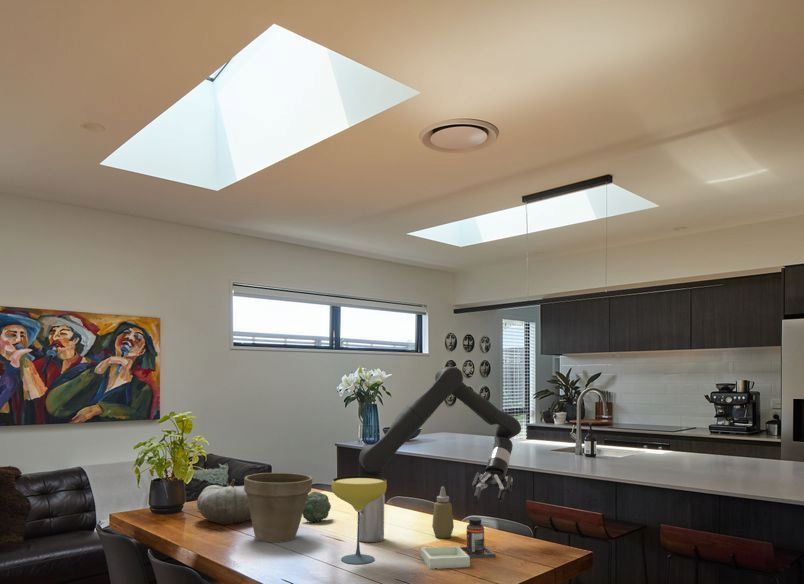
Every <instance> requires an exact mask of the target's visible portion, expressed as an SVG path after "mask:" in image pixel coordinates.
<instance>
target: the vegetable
mask: <svg viewBox="0 0 804 584" xmlns="http://www.w3.org/2000/svg"><path fill="white" fill-rule="evenodd" d="M329 500H330V499H329V496H328V495H327V494H324V493H321V492H320V491H311V492H309V493H308V497H307V500H306V504H305V507H304V511H303V514H302V517H303V519H304V520H306V521H308V522H309V523H314V522H315V521H318V522H322V520H325V519H327V518H328V517H329V513H330V511H331V508H332V505H331V503H330V502H329Z"/></svg>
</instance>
